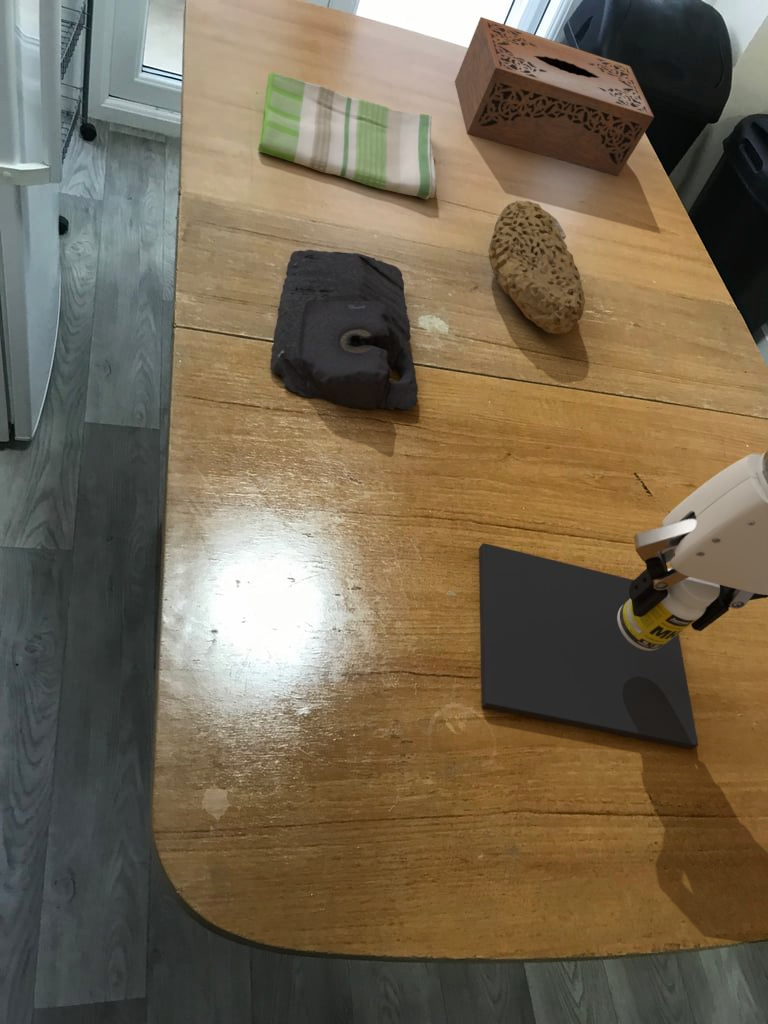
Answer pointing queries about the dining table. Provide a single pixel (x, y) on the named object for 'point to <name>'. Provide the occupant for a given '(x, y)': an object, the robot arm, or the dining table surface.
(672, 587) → the supplement bottle
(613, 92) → the tissue box cover
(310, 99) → the dish towel
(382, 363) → the dark slate chunk
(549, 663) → the mat
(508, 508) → the dining table surface
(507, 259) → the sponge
